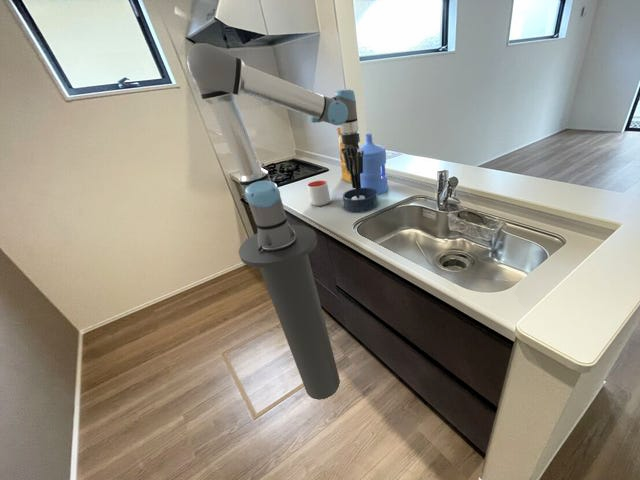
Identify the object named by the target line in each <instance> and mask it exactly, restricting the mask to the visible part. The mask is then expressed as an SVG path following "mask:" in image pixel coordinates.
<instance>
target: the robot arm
mask: <svg viewBox="0 0 640 480" xmlns="http://www.w3.org/2000/svg"><path fill="white" fill-rule="evenodd" d="M186 64H187V68H188V71H189V73H190V75H191V77H192V79H193V81H194V83H195V86H196V88H197V90H198V93H199V95H200V97H201V99H202V101H204V103H207V104H208V105H209V107H210V108H211V110H212V112H213V115H214V117H215V119H216V122H217V124H218V126H219V129H220V131H221V133H222V136H223V138H224V140H225V143H226V145H227V147H228V149H229V152H230V154H231V156H232V159H233V161H234V163H235V165H236V168H237V170H238V173H239V177H238V180H237V181H238V182H239V185H240V187H241V189H242V192H243V195H244V197H245V200H246V201H247V203H248V205H249V206H248V207H249V208H250V211H251V214H252V217H253V219H254V222H255V225H256V228H257V233H258V245H259V249H258V251H259V252H260V251H261V250H263V251H267V252H274V251H280V250H283V249H286V248H288V247H290V246H292V245H293V244H294V243H295V242H296V240H297V237H296V234H295V231H294V229H292V227H291V226H290V225H291V224H290V222H289V221H288V219H287V215H286V210H285V207H284V205H283V201H282V200H283V199H282V196H281V191H280V189H279V187H278V185H277V184H276V183H275V182H274V181H272V180H271V177H270V173H269V171H268V170H266V169H264V168H263V167H262V164H261V161H260V159H259V156H258V153H257V151H256V148H255V146H254V144H253V140H252V139H251V136H250V134H249V130H248V128H247V125H246V124H245V120H244V118H243V115H242V112H241V110H240V106H239V104H238V102H237V100H236V98H237V96H240V95H241V94H244V95H247V96H249V97H252V98H256V99H258V100H261V101H264V102H267V103H270V104H273V105H276V106H279V107H282V108H284V109H287V110H291V111H294V112H297V113H299V114H302V115H306V116H308V118H309V120H310V122H311V123H314V124H316V123H317V124H318V123H323V122H324V123H328V124H331V125H333V126H339V128H340V130H341V133H342V135H341V136H342V143H343V144H345V148H343V149H342V153H343V155H344V160H345V164H346V169H347V171H349V173H350V174H351V180H352V183H351V186H352V189H355V188H356V190H357V189H359V188H361V182H360V181H361V179H360V174H361V173H363V154H364V152H363V151H361V150H360V149H359V148H360V146H359V143H360V142H361V139H360V132H359V123H358V113H357V101H356V100H357V99H356V95H355V90H353V89H352V88H346V89H339V90H336V91H335V95H334V96H333V97H327V96H326V95H323V94H321V93H317V92H315V91H314V90H313V91H312V90H311V89H307V88H305V87H302V86H300V85H298V84H294V83H292V82H290V81H288V80H285V79H282V78H280V77H277V76H274V75H272V74H270V73H268V72H267V73H266V72H264V71H261V70H259V69H256V68H255V67H251V66H249V65H246V64H245V62H244V61H243V59H242V58H239V57H237V56H234V55H232V54H230V53H229V52H226V51H224V50H222V49H221V48H219V47H217V46H215V45H213V44H210V43H206V42H201V43H196V44H194V45H193V46H192V47H191V48H190V49H189V51H188V53H187V57H186ZM352 165H353V166H354V172H355V174H354V175H353V167H352ZM354 181H355V183H354Z"/></svg>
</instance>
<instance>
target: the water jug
mask: <svg viewBox="0 0 640 480" xmlns="http://www.w3.org/2000/svg"><path fill="white" fill-rule="evenodd" d="M359 149H360V150H361V151H363V152H364V154H363V173H361V174H360V179H361V181H360V182H361V188H373V189H375V190H377V194H378V196H379V195H382V194H384V193H386V192H387V191H388V190H389V184H388V176H387V175H388V174H386V164H387V152H386V148H385V147H384V146H382V145H379V144H377V143H374V142H373V134H372V133H366V134H365V143H364V145H362V146H359Z"/></svg>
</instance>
